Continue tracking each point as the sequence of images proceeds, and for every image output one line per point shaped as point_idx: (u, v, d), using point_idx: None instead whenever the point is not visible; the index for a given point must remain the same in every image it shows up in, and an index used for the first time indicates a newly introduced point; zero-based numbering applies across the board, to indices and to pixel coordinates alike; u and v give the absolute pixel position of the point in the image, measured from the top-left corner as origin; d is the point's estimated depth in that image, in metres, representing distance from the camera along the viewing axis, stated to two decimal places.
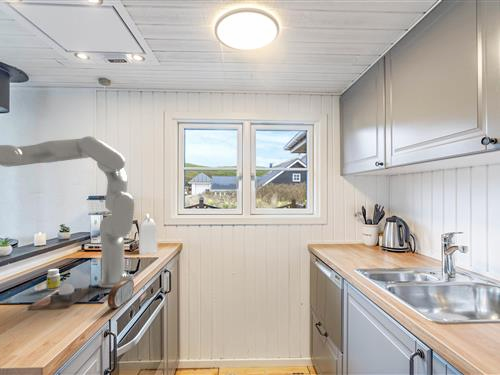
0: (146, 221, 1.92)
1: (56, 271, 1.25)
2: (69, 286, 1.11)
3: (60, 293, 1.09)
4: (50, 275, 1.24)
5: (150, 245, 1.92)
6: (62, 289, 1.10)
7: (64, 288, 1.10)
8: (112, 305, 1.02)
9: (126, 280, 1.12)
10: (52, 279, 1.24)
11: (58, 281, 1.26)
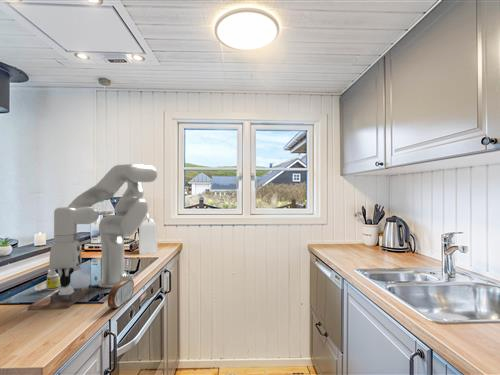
0: (146, 221, 1.92)
1: None
2: (69, 287, 1.11)
3: (60, 294, 1.09)
4: (50, 275, 1.24)
5: (150, 245, 1.92)
6: (62, 290, 1.10)
7: (64, 289, 1.10)
8: (112, 305, 1.02)
9: (126, 280, 1.12)
10: (52, 279, 1.24)
11: (58, 281, 1.26)
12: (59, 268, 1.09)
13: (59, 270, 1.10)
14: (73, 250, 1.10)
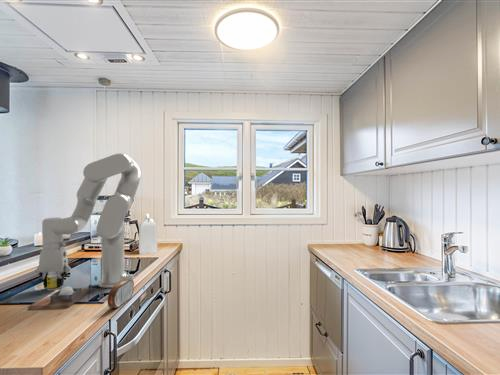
0: (146, 221, 1.92)
1: None
2: (69, 289, 1.11)
3: None
4: (50, 275, 1.24)
5: (150, 245, 1.92)
6: (62, 292, 1.10)
7: (64, 291, 1.10)
8: (112, 305, 1.02)
9: (126, 280, 1.12)
10: (52, 279, 1.24)
11: None
12: (47, 272, 1.24)
13: (44, 273, 1.24)
14: (59, 256, 1.24)
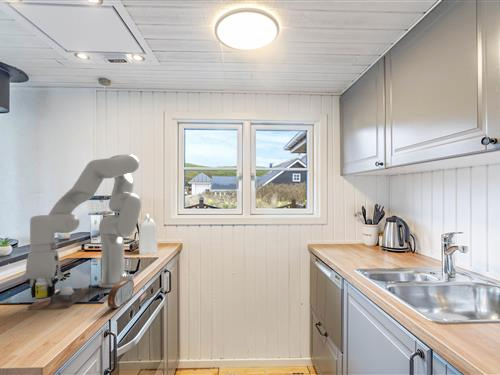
0: (146, 221, 1.92)
1: None
2: (69, 289, 1.11)
3: None
4: (39, 283, 1.05)
5: (150, 245, 1.92)
6: (62, 292, 1.10)
7: (64, 291, 1.10)
8: (112, 305, 1.02)
9: (126, 280, 1.12)
10: (42, 288, 1.05)
11: None
12: (36, 278, 1.06)
13: (32, 280, 1.06)
14: (50, 260, 1.06)
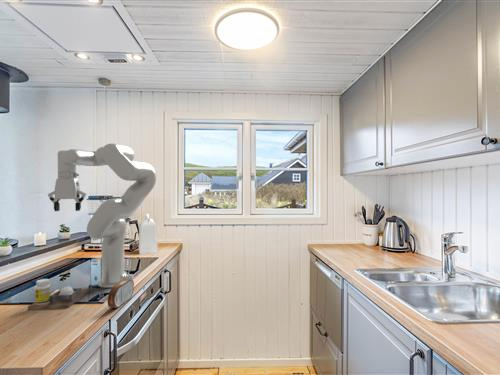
0: (146, 221, 1.92)
1: (46, 282, 1.07)
2: (69, 289, 1.11)
3: None
4: (39, 287, 1.05)
5: (150, 245, 1.92)
6: (62, 292, 1.10)
7: (64, 291, 1.10)
8: (112, 305, 1.02)
9: (126, 280, 1.12)
10: (41, 292, 1.05)
11: (48, 294, 1.07)
12: (62, 198, 1.38)
13: (56, 198, 1.38)
14: (73, 184, 1.38)
